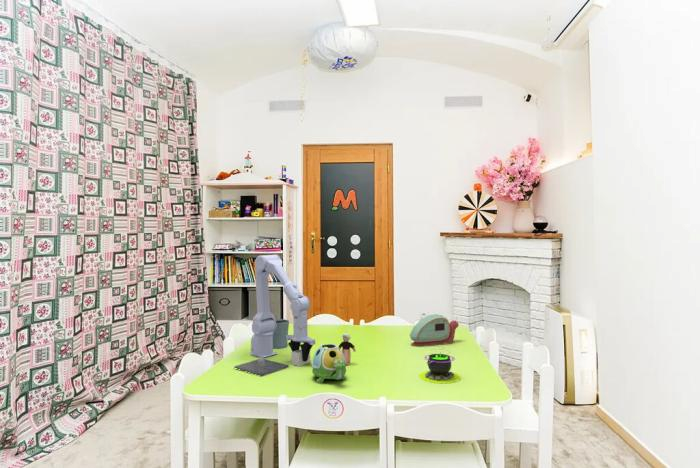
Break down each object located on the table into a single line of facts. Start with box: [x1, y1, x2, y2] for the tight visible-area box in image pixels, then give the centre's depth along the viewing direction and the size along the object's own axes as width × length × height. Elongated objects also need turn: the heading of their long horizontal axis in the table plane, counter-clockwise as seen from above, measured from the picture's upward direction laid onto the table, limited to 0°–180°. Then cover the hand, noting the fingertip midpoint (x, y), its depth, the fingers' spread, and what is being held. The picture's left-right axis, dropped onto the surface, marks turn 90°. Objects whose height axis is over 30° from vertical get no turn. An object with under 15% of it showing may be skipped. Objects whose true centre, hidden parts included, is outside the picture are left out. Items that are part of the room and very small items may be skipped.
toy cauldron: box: [418, 347, 461, 385], centre depth 170 cm, size 15×15×11 cm
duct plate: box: [233, 356, 290, 377], centre depth 183 cm, size 16×14×4 cm
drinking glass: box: [273, 318, 290, 350], centre depth 217 cm, size 10×10×12 cm
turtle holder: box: [311, 343, 348, 384], centre depth 168 cm, size 12×18×12 cm
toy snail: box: [409, 313, 460, 347], centre depth 220 cm, size 25×8×14 cm, turn 107°
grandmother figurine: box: [337, 332, 357, 366], centre depth 187 cm, size 8×4×13 cm, turn 82°
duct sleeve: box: [290, 348, 311, 367], centre depth 189 cm, size 6×4×5 cm
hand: (300, 359), depth 189 cm, fingers closed on duct sleeve, 4 cm apart
